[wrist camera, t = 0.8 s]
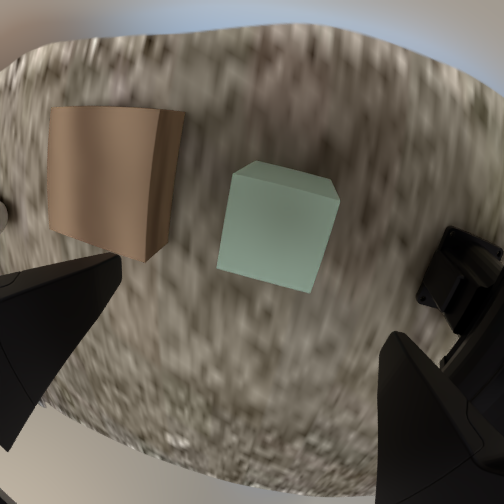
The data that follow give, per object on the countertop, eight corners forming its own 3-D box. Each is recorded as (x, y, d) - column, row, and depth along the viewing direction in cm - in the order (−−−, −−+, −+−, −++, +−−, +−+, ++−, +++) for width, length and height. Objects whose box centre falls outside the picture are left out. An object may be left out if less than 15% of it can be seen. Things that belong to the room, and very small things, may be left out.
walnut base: (187, 112, 18) (159, 109, 14) (169, 240, 22) (145, 262, 19) (84, 105, 19) (51, 107, 15) (78, 214, 23) (49, 229, 19)
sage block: (330, 179, 18) (340, 200, 12) (310, 247, 20) (310, 293, 14) (255, 160, 18) (232, 173, 13) (241, 229, 20) (216, 268, 15)
